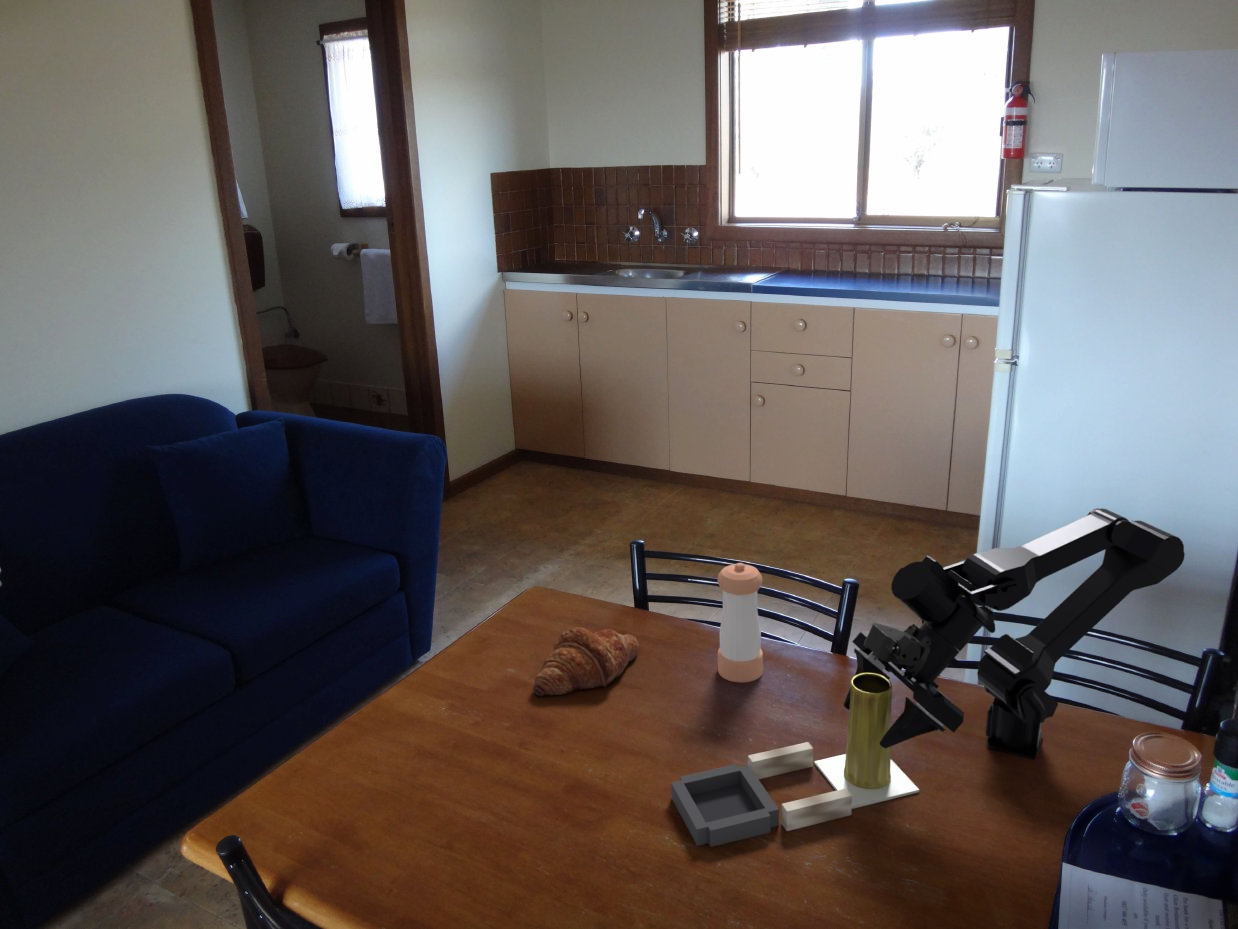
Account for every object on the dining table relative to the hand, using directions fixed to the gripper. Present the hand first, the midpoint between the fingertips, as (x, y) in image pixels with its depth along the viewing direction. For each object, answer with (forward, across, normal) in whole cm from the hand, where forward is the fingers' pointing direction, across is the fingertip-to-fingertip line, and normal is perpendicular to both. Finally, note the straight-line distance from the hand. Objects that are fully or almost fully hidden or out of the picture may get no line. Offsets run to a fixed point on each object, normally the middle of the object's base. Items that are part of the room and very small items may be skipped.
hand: (863, 726), depth 125 cm
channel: (+12, 0, -1) cm, 12 cm away
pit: (+20, 0, -8) cm, 21 cm away
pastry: (+26, -40, -14) cm, 49 cm away
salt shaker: (+9, -31, +3) cm, 32 cm away
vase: (+5, 0, +6) cm, 8 cm away
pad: (+5, 0, +6) cm, 8 cm away
